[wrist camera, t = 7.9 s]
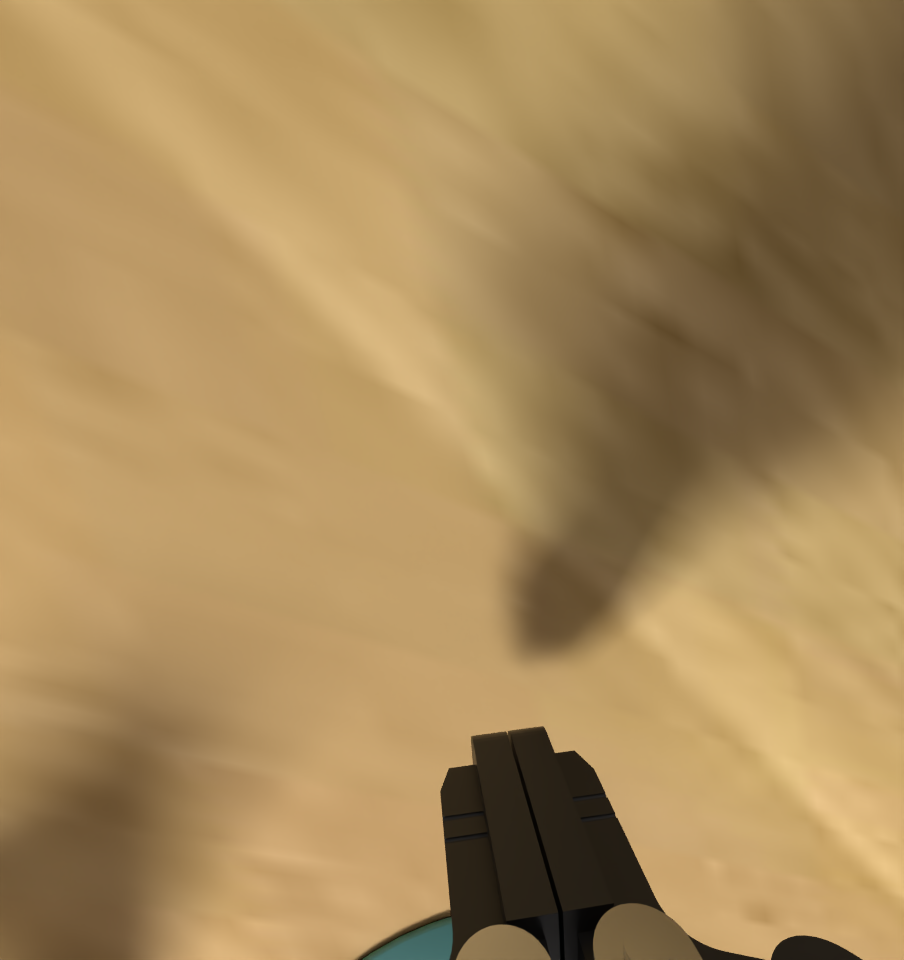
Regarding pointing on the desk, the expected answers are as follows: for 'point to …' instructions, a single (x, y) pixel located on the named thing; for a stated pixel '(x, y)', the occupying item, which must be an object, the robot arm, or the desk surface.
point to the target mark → (419, 944)
